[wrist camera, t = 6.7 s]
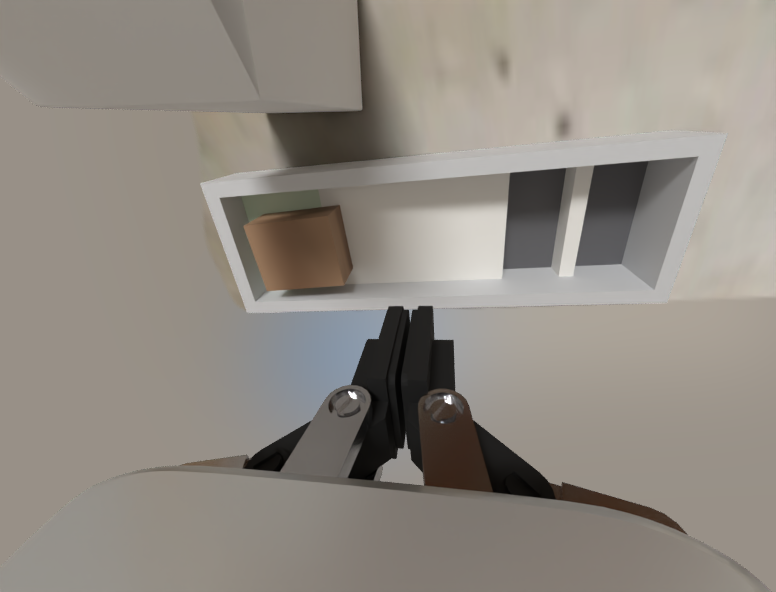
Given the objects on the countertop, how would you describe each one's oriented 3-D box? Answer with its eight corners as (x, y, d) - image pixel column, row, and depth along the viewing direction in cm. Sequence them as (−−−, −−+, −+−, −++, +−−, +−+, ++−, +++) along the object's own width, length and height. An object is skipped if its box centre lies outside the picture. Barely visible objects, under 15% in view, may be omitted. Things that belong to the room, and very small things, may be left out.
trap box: (671, 130, 20) (728, 133, 16) (630, 274, 25) (666, 303, 21) (236, 173, 25) (200, 183, 21) (271, 287, 30) (247, 312, 26)
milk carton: (363, 111, 22) (148, 92, 5) (264, 113, 23) (-188, 102, 6) (356, -33, 18) (-316, -1347, 2) (240, -24, 19) (-941, -884, 3)
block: (339, 204, 23) (327, 215, 20) (353, 268, 25) (344, 285, 23) (263, 214, 24) (242, 225, 22) (283, 274, 26) (267, 291, 24)
